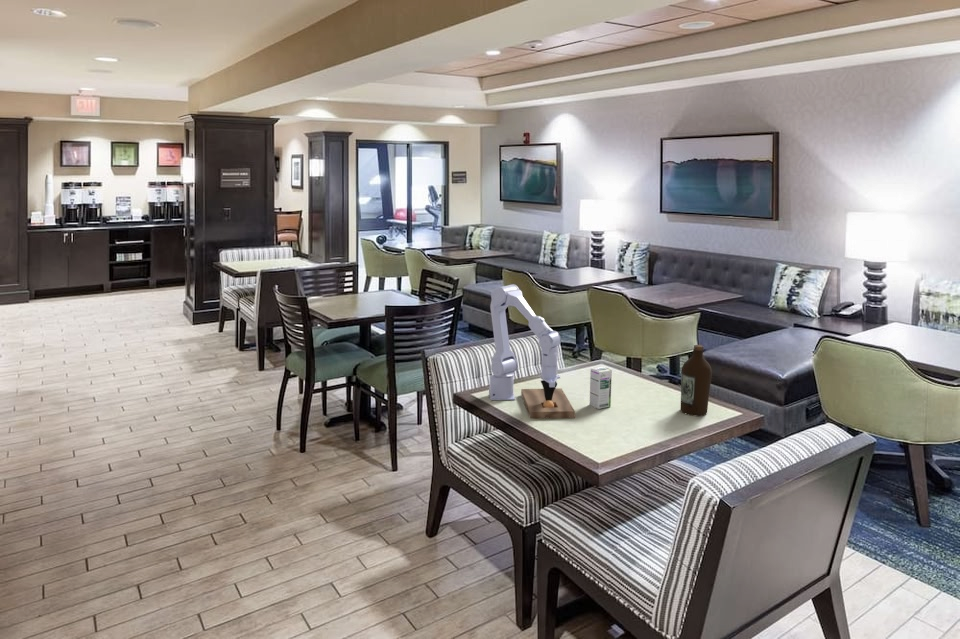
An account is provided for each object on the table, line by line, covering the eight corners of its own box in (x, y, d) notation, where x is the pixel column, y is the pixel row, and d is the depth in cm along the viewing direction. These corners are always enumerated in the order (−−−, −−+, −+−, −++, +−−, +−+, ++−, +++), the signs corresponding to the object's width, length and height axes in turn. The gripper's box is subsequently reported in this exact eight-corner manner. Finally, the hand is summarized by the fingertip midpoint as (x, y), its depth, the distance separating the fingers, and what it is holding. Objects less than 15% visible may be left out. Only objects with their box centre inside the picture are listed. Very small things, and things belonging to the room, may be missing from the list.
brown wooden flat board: (530, 418, 240) (530, 412, 240) (521, 395, 266) (521, 389, 265) (574, 417, 241) (574, 411, 241) (561, 394, 267) (561, 388, 266)
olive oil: (694, 405, 255) (699, 341, 250) (715, 414, 246) (720, 347, 240) (672, 409, 251) (676, 343, 245) (692, 418, 241) (697, 350, 236)
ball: (544, 409, 245) (543, 398, 247) (543, 413, 249) (541, 402, 250) (555, 408, 245) (554, 398, 247) (553, 412, 249) (552, 402, 251)
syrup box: (598, 409, 250) (600, 371, 247) (588, 404, 255) (590, 367, 252) (610, 407, 253) (612, 369, 249) (601, 402, 258) (602, 365, 255)
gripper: (563, 370, 240) (562, 406, 243) (556, 359, 254) (555, 393, 257) (544, 370, 239) (543, 406, 242) (538, 359, 253) (537, 393, 256)
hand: (548, 400), depth 249 cm, fingers closed
